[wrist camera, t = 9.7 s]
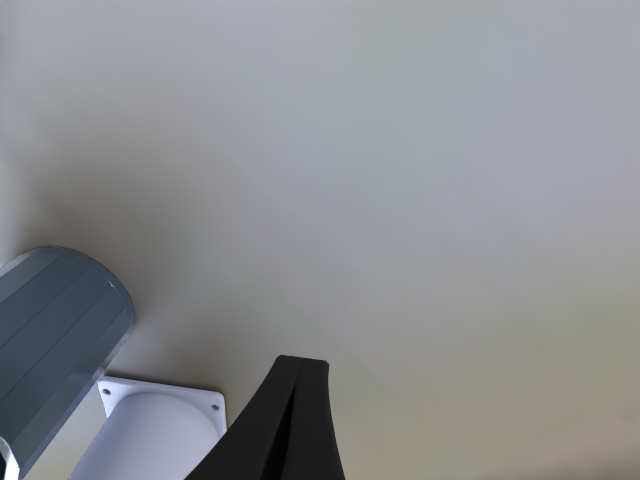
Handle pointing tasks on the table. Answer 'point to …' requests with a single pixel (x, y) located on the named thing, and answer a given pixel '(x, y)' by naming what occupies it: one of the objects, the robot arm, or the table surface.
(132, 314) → the pen pot
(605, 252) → the table surface
